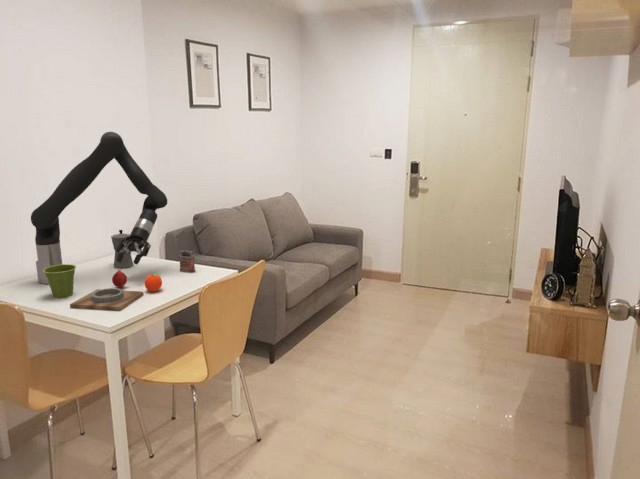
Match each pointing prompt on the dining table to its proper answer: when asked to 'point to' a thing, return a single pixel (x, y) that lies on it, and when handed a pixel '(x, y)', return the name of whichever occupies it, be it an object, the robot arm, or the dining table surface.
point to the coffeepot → (127, 257)
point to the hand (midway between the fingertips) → (126, 262)
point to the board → (113, 306)
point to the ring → (113, 298)
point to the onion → (119, 279)
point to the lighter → (187, 262)
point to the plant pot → (60, 279)
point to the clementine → (153, 282)
